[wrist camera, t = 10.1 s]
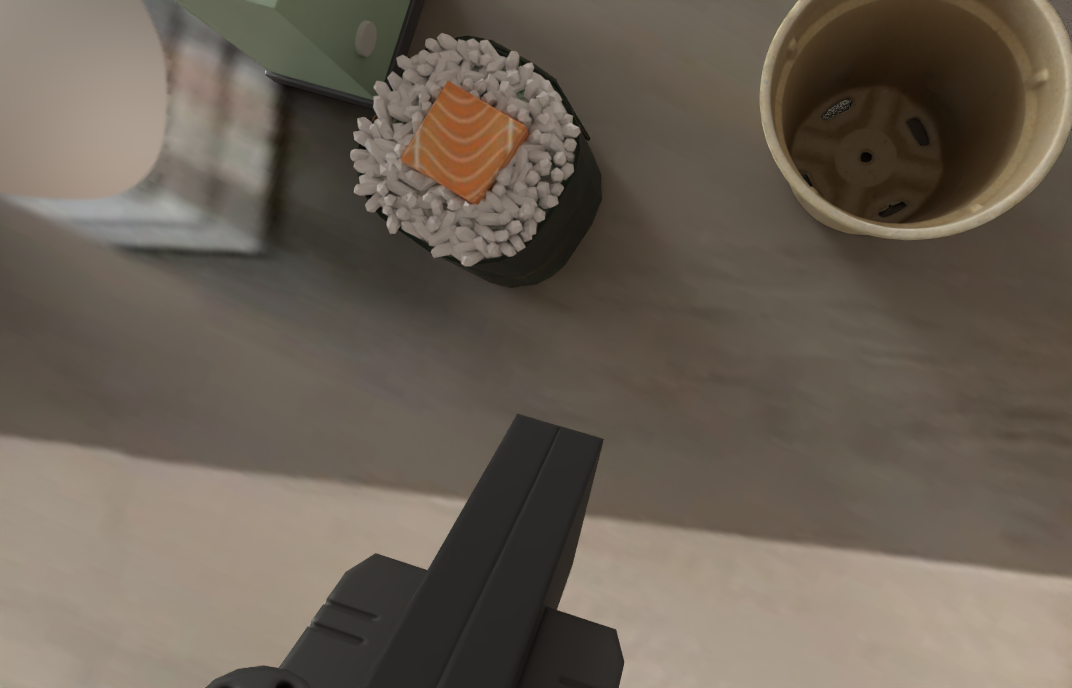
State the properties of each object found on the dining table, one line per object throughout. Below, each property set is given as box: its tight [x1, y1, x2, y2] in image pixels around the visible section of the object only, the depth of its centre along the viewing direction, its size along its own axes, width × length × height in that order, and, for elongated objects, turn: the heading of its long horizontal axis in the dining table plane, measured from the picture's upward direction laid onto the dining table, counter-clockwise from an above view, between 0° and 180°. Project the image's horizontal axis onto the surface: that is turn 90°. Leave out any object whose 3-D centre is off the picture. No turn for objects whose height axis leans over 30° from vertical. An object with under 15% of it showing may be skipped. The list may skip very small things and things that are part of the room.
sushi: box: [350, 33, 602, 287], centre depth 35 cm, size 8×8×8 cm
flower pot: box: [760, 0, 1072, 240], centre depth 32 cm, size 9×9×9 cm
